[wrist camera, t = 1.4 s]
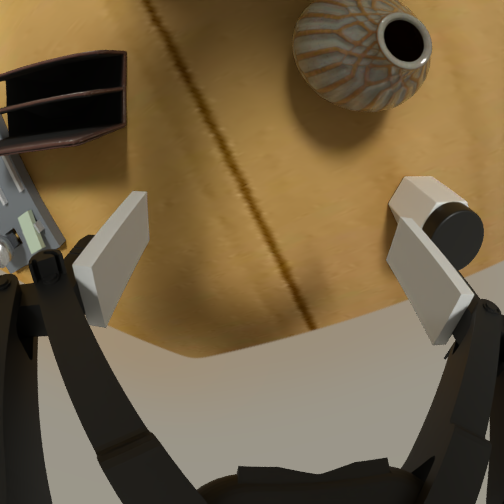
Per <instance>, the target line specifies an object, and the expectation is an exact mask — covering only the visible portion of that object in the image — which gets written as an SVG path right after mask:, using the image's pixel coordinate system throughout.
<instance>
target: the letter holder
mask: <svg viewBox="0 0 504 504" xmlns="http://www.w3.org/2000/svg"><path fill="white" fill-rule="evenodd" d="M126 55H127V52H126V51H116V50H97V51H89V52H83V53H77V54H72V55H67V56H63V57H58V58H54V59H50V60H46V61H41V62H38V63H34V64H31V65H27V66H24V67H20V68H18V69H15V70H12V71H8V72H6V73H3V74H0V81H6V95H7V106H6V107H4V108H1V109H0V114H4V113H7V115H8V130H9V137H8V138H5V139H2V140H0V156H5V155H11V154H18V153H25V152H33V151H41V150H48V149H55V148H64V147H72V146H78V145H81V144H84V143H86V142H89V141H91V140H94V139H97V138H99V137H101V136H104V135H106V134H108V133H111V132H114V131H116V130H118V129H121V128H124V127H125V126H126V60H127V59H126V58H127V57H126Z"/></svg>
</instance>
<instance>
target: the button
mask: <svg viewBox="0 0 504 504" xmlns="http://www.w3.org/2000/svg"><path fill="white" fill-rule="evenodd" d="M18 244H19V243H18V242H17V240H16V238H15V237H14V235H13V233H11V234H9V235H8V236H6V237H5V236H3V235H0V268H4V267H5V266H6V265H7V264H8V263H9V262H10V261H11V260H12V259H13V257H14V248H15V247H16V246H17V245H18Z"/></svg>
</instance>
